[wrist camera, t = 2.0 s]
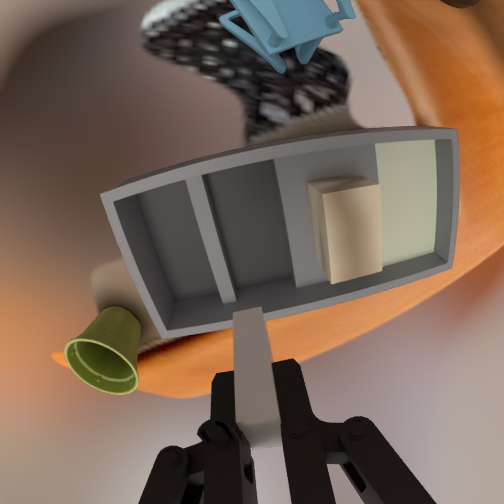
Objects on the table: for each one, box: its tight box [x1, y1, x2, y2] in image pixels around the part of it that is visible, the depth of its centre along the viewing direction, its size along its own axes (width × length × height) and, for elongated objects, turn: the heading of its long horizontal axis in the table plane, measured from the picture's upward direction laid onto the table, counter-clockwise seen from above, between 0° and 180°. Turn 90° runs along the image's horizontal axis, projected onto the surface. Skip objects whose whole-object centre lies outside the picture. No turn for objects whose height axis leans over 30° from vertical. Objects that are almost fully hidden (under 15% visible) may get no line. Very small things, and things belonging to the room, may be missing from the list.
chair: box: [219, 0, 355, 74], centre depth 15 cm, size 8×8×12 cm
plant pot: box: [64, 306, 141, 395], centre depth 29 cm, size 9×9×9 cm
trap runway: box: [100, 126, 459, 339], centre depth 26 cm, size 34×16×6 cm, turn 102°
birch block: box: [306, 173, 383, 284], centre depth 24 cm, size 5×8×5 cm, turn 12°
